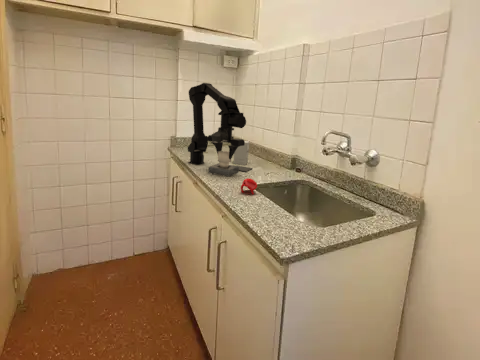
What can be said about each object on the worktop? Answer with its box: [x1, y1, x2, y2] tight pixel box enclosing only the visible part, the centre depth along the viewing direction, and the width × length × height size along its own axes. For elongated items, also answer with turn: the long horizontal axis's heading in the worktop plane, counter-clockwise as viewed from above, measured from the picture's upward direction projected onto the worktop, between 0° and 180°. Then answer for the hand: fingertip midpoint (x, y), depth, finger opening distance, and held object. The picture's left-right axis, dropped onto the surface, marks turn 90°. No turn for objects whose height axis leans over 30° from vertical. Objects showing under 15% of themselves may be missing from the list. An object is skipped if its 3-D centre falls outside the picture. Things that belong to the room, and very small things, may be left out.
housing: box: [208, 162, 240, 177], centre depth 153 cm, size 11×11×3 cm
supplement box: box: [232, 140, 251, 166], centre depth 176 cm, size 7×7×13 cm
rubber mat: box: [238, 165, 253, 173], centre depth 163 cm, size 9×9×1 cm
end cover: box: [217, 150, 232, 168], centre depth 152 cm, size 6×6×7 cm
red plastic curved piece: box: [240, 178, 258, 195], centre depth 124 cm, size 8×6×6 cm
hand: (224, 157), depth 152 cm, fingers closed on end cover, 6 cm apart
